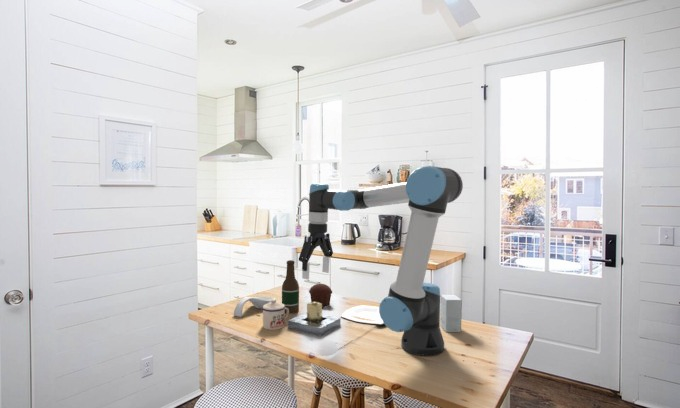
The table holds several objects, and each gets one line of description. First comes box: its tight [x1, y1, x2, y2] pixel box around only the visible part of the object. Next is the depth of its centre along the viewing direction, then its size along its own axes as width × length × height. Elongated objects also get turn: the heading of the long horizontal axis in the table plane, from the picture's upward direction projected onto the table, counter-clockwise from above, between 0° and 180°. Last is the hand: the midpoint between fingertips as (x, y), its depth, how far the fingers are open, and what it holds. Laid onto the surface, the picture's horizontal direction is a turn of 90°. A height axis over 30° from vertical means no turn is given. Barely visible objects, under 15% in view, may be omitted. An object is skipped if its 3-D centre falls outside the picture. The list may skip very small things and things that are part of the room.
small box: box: [440, 294, 463, 333], centre depth 155 cm, size 8×6×13 cm
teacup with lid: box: [261, 298, 290, 331], centre depth 155 cm, size 12×9×12 cm
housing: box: [287, 311, 341, 337], centre depth 154 cm, size 16×14×4 cm
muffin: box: [308, 283, 333, 308], centre depth 186 cm, size 12×11×10 cm
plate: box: [340, 304, 385, 326], centre depth 168 cm, size 23×23×2 cm
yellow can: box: [306, 302, 323, 324], centre depth 154 cm, size 6×6×10 cm
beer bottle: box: [281, 259, 300, 315], centre depth 173 cm, size 8×8×24 cm
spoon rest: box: [233, 296, 276, 318], centre depth 178 cm, size 24×12×7 cm, turn 153°
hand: (315, 275), depth 152 cm, fingers open, 13 cm apart
